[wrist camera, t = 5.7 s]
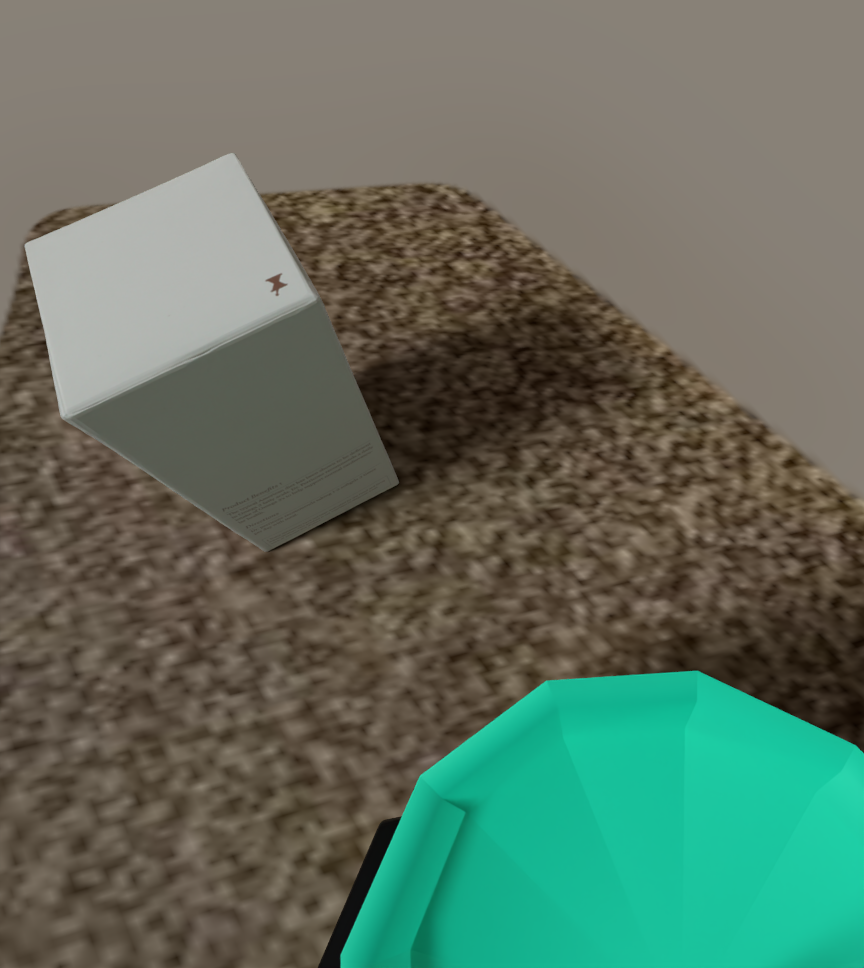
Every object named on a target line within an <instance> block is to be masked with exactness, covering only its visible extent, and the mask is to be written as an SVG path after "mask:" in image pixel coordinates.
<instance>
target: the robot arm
mask: <svg viewBox="0 0 864 968" xmlns="http://www.w3.org/2000/svg"><path fill="white" fill-rule="evenodd" d="M401 817H402V816H401ZM401 817H396V818H391V819H387V820H384V821H382V822H381V823H380V825H379V827H378V829H377V831H376V833H375V836H374V838H373V840H372V843H371V845H370V847H369V850H368V852H367V854H366V857H365V859H364V861H363V864H362V866H361V868H360V871H359V873H358V875H357V878H356V880H355V882H354V885H353V887H352V889H351V891H350V894H349V896H348V898H347V901H346V903H345V905H344V908H343V910H342V912H341V915H340V917H339V919H338V922H337V924H336V926H335V929H334V931H333V933H332V936H331V938H330V940H329V943H328V945H327V947H326V950H325V952H324V954H323V957H322V959H321V961H320V964H319V966H318V968H341V953H342V951H343V948H344V946H345V944H346V942H347V939H348V937H349V935H350V933H351V930H352V928H353V926H354V924H355V921H356V919H357V917H358V915H359V912H360V910H361V908H362V905H363V903H364V901H365V899H366V896H367V894H368V892H369V890H370V887H371V885H372V883H373V881H374V878H375V876H376V874H377V872H378V869H379V867H380V865H381V863H382V860H383V858H384V856H385V854H386V851H387V849H388V847H389V845H390V842H391V840H392V838H393V835H394V833H395V831H396V829H397V826H398V824H399V822H400V820H401Z"/></svg>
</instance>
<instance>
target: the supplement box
mask: <svg viewBox="0 0 864 968" xmlns="http://www.w3.org/2000/svg"><path fill="white" fill-rule="evenodd" d="M24 246H25V250H26V254H27V259H28V263H29V268H30V272H31V276H32V280H33V284H34V289H35V293H36V298H37V302H38V306H39V310H40V315H41V319H42V323H43V327H44V331H45V336H46V342H47V347H48V352H49V358H50V363H51V369H52V374H53V379H54V384H55V389H56V394H57V399H58V404H59V410H60V416H61V417H62V418H63V419H64V420H65V421H67V422H68V423H70V424H72V425H73V426H75V427H77V428H78V429H80V430H82V431H83V432H85V433H87V434H88V435H90V436H91V437H93V438H95V439H96V440H98V441H99V442H101V443H103V444H104V445H106V446H107V447H109V448H110V449H112V450H113V451H115V452H116V453H118V454H119V455H121V456H122V457H124V458H125V459H127V460H128V461H130V462H131V463H133V464H134V465H136V466H137V467H139V468H140V469H142V470H143V471H145V472H146V473H148V474H149V475H151V476H152V477H154V478H155V479H157V480H158V481H160V482H161V483H163V484H164V485H166V486H167V487H168V488H170V489H171V490H173V491H174V492H176V493H177V494H179V495H180V496H182V497H183V498H185V499H186V500H188V501H189V502H191V503H192V504H194V505H195V506H197V507H198V508H200V509H201V510H203V511H204V512H206V513H207V514H208V515H210V516H211V517H213V518H214V519H216V520H218V521H219V522H221V523H222V524H223V525H225V526H226V527H228V528H229V529H231V530H232V531H234V532H235V533H237V534H239V535H240V536H242V537H244V538H245V539H247V540H248V541H250V542H251V543H253V544H254V545H256V546H257V547H259V548H260V549H262V550H263V551H265V552H267V551H270V550H272V549H273V548H275V547H277V546H279V545H281V544H283V543H285V542H287V541H289V540H291V539H293V538H295V537H297V536H299V535H301V534H303V533H305V532H307V531H309V530H311V529H313V528H315V527H316V526H318V525H320V524H322V523H324V522H326V521H328V520H330V519H332V518H334V517H336V516H338V515H340V514H342V513H344V512H345V511H347V510H349V509H351V508H353V507H355V506H357V505H359V504H361V503H363V502H365V501H367V500H369V499H371V498H373V497H374V496H376V495H378V494H380V493H382V492H384V491H386V490H388V489H390V488H392V487H394V486H396V485H398V484H399V481H398V478H397V476H396V473H395V471H394V469H393V466H392V464H391V461H390V459H389V457H388V455H387V452H386V450H385V448H384V445H383V443H382V441H381V439H380V436H379V434H378V431H377V429H376V427H375V424H374V422H373V420H372V417H371V415H370V412H369V410H368V408H367V405H366V403H365V401H364V399H363V396H362V394H361V392H360V389H359V387H358V385H357V382H356V380H355V378H354V375H353V373H352V371H351V368H350V366H349V364H348V361H347V359H346V356H345V354H344V352H343V349H342V347H341V345H340V342H339V340H338V338H337V335H336V333H335V331H334V328H333V326H332V324H331V321H330V319H329V316H328V314H327V312H326V309H325V307H324V304H323V302H322V300H321V298H320V296H319V294H318V292H317V291H316V289H315V287H314V285H313V284H312V282H311V280H310V278H309V277H308V275H307V273H306V271H305V270H304V268H303V266H302V265H301V263H300V261H299V259H298V258H297V256H296V254H295V253H294V251H293V249H292V247H291V246H290V244H289V242H288V241H287V239H286V237H285V236H284V234H283V232H282V231H281V229H280V227H279V226H278V224H277V222H276V221H275V219H274V217H273V216H272V214H271V212H270V211H269V209H268V207H267V206H266V204H265V203H264V201H263V199H262V198H261V196H260V194H259V193H258V191H257V189H256V188H255V186H254V184H253V183H252V181H251V179H250V178H249V176H248V175H247V173H246V171H245V169H244V168H243V166H242V164H241V163H240V161H239V159H238V157H237V156H236V154H235V153H230V154H228V155H225V156H223V157H221V158H218V159H216V160H214V161H212V162H210V163H208V164H206V165H203V166H201V167H199V168H197V169H195V170H192V171H190V172H188V173H186V174H184V175H181V176H179V177H177V178H175V179H173V180H170V181H168V182H166V183H163V184H161V185H159V186H157V187H154V188H152V189H150V190H148V191H145V192H143V193H141V194H139V195H136V196H134V197H132V198H129V199H127V200H125V201H123V202H120V203H118V204H116V205H114V206H111V207H109V208H107V209H104V210H102V211H100V212H98V213H95V214H93V215H91V216H89V217H86V218H84V219H82V220H79V221H77V222H75V223H73V224H70V225H68V226H66V227H63V228H61V229H58V230H56V231H54V232H51V233H49V234H47V235H44V236H42V237H40V238H37V239H35V240H32V241H30V242H27V243H26V244H25V245H24Z"/></svg>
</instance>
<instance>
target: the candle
mask: <svg viewBox="0 0 864 968" xmlns="http://www.w3.org/2000/svg"><path fill="white" fill-rule="evenodd" d="M341 968H864V753H863V752H862V751H861V750H860V749H859V748H858V747H857V746H856V745H854V744H852V743H850V742H848V741H846V740H843V739H841V738H839V737H837V736H835V735H833V734H831V733H829V732H826V731H824V730H822V729H820V728H818V727H816V726H814V725H812V724H809V723H807V722H805V721H803V720H801V719H799V718H797V717H795V716H792V715H790V714H788V713H786V712H784V711H782V710H780V709H778V708H775V707H773V706H771V705H769V704H767V703H765V702H763V701H761V700H758V699H756V698H754V697H752V696H750V695H748V694H746V693H744V692H742V691H739V690H737V689H735V688H733V687H731V686H729V685H727V684H725V683H722V682H720V681H718V680H716V679H714V678H712V677H710V676H708V675H705V674H703V673H701V672H699V671H684V672H670V673H655V674H640V675H625V676H610V677H595V678H580V679H565V680H550V681H545V682H544V683H543V684H541V685H540V686H539V687H537V688H536V689H535V690H533V691H532V692H531V693H529V694H528V695H527V696H525V697H524V698H523V699H521V700H520V701H519V702H517V703H516V704H514V705H513V706H512V707H510V708H509V709H508V710H506V711H505V712H504V713H503V714H501V715H500V716H499V717H497V718H496V719H495V720H493V721H492V722H491V723H489V724H488V725H487V726H485V727H484V728H483V729H481V730H480V731H479V732H477V733H476V734H475V735H473V736H472V737H471V738H469V739H468V740H467V741H465V742H464V743H463V744H461V745H460V746H459V747H457V748H456V749H455V750H453V751H452V752H451V753H449V754H448V755H447V756H445V757H444V758H443V759H442V760H440V761H439V762H438V763H436V764H435V765H434V766H432V767H431V768H430V769H428V770H427V771H426V772H424V773H423V774H422V775H420V777H419V779H418V781H417V784H416V786H415V788H414V790H413V793H412V795H411V797H410V799H409V802H408V804H407V806H406V808H405V811H404V813H403V815H402V817H401V820H400V822H399V824H398V826H397V829H396V831H395V833H394V835H393V838H392V840H391V842H390V845H389V847H388V849H387V851H386V854H385V856H384V858H383V860H382V863H381V865H380V867H379V869H378V872H377V874H376V876H375V878H374V881H373V883H372V885H371V887H370V890H369V892H368V894H367V896H366V899H365V901H364V903H363V905H362V908H361V910H360V912H359V915H358V917H357V919H356V921H355V924H354V926H353V928H352V930H351V933H350V935H349V937H348V939H347V942H346V944H345V946H344V948H343V951H342V953H341Z"/></svg>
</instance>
